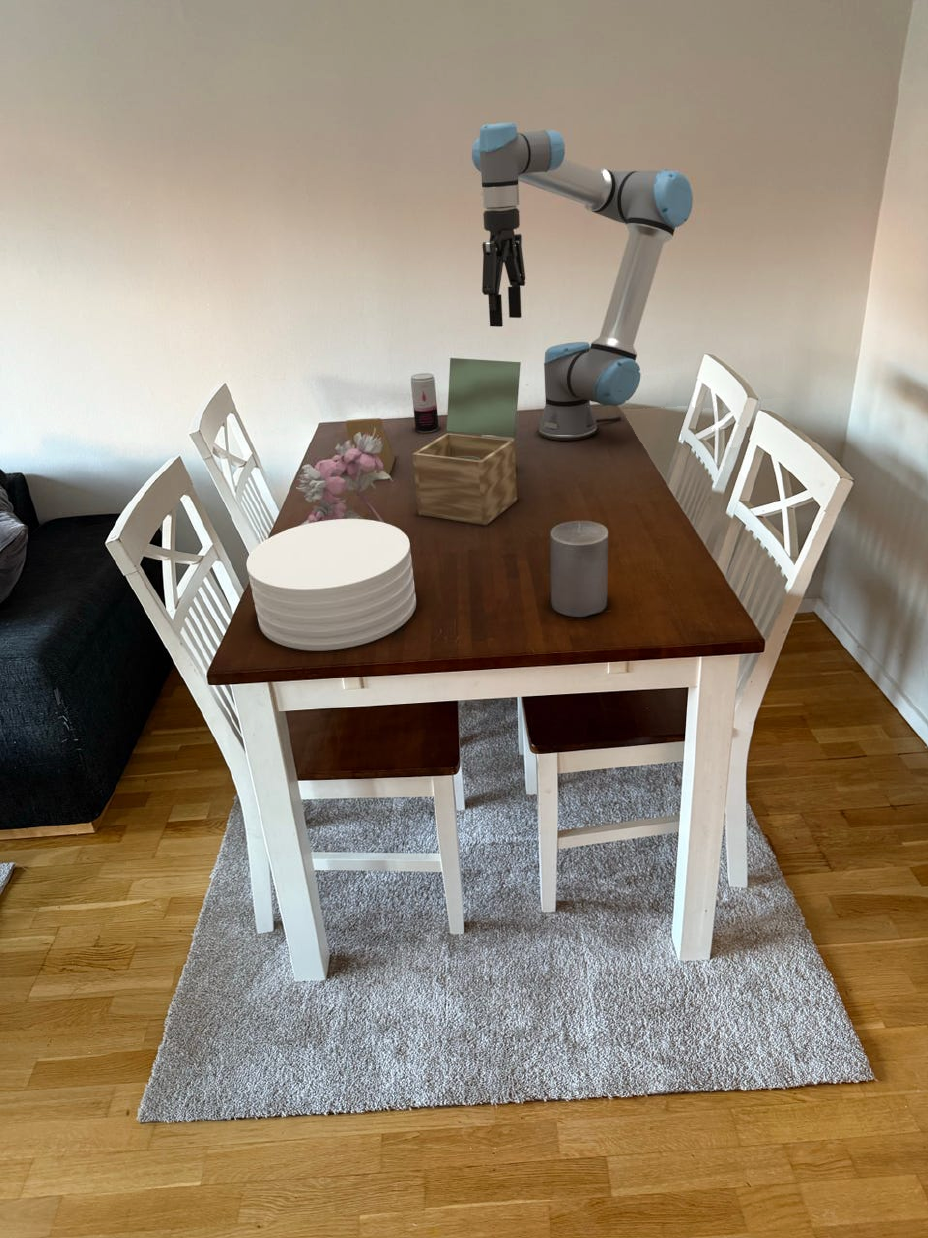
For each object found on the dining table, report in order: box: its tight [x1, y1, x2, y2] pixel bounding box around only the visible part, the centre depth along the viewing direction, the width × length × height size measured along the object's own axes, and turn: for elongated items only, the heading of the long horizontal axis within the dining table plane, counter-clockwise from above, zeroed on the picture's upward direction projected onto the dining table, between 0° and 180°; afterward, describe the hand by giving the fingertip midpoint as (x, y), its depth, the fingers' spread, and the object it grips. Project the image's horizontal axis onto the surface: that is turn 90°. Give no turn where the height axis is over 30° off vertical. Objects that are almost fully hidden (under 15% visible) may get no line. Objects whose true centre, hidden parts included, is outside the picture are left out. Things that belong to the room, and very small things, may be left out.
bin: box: [412, 432, 518, 526], centre depth 189 cm, size 15×17×14 cm
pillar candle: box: [549, 520, 609, 618], centre depth 147 cm, size 10×10×15 cm
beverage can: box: [410, 372, 439, 434], centre depth 240 cm, size 7×7×15 cm
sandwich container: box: [345, 417, 396, 476], centre depth 215 cm, size 9×15×15 cm, turn 177°
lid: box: [446, 357, 522, 439], centre depth 188 cm, size 16×17×1 cm
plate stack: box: [246, 518, 417, 652], centre depth 152 cm, size 28×28×12 cm
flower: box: [295, 428, 394, 526], centre depth 176 cm, size 20×22×25 cm
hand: (506, 321), depth 191 cm, fingers open, 9 cm apart
